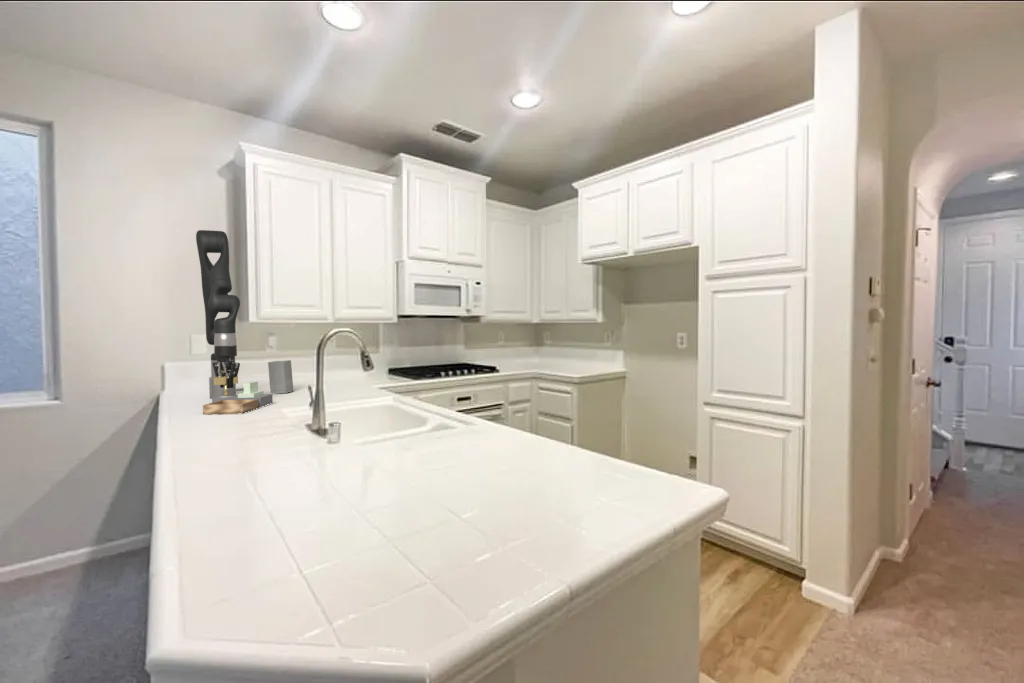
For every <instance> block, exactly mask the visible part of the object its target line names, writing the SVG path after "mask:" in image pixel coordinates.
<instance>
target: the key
mask: <svg viewBox="0 0 1024 683" xmlns="http://www.w3.org/2000/svg"><path fill="white" fill-rule="evenodd" d="M233 384H239V376H238V375H237V377H234V378H233ZM213 385H224V396H228V395H229V392H233V391H236V392H244V387H243V388H236V389H228V388H227V377H226V376H223V377H213Z"/></svg>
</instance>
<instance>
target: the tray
mask: <svg viewBox="0 0 1024 683" xmlns="http://www.w3.org/2000/svg"><path fill="white" fill-rule="evenodd" d="M256 408H258V409H260V408H259V402H258V399H252V400H220V401H217V402H213V403H212V402H209V403H205V404H202V415H203V414H205V415H206V416H211V415H212V414H218V415H239V414H238V413H244V414H246V413H245V412H247V413H249V412H248V411H250V412H252V411H254V410H253V409H255V410H257V409H256ZM251 410H252V411H251ZM205 415H204V416H205Z"/></svg>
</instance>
